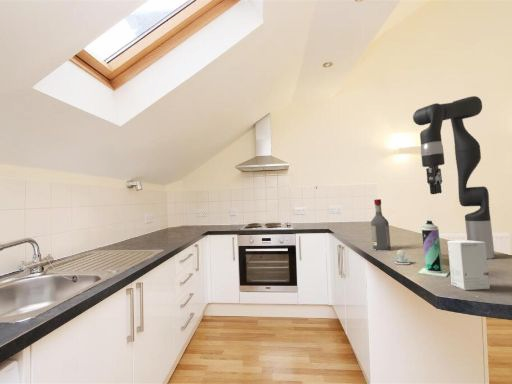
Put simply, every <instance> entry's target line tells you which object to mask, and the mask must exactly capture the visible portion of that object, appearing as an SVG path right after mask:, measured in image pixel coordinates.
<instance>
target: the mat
mask: <svg viewBox="0 0 512 384" xmlns="http://www.w3.org/2000/svg"><path fill="white" fill-rule="evenodd" d="M417 274H419V275H428V276H433V277H443V278H447V277H448V275H449V274H450V271H449V270H443V272H442V273H430V272H427V271H426V267H422V268H421V269H419V271H418V272H417Z"/></svg>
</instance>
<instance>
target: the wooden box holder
mask: <svg viewBox="0 0 512 384" xmlns="http://www.w3.org/2000/svg"><path fill="white" fill-rule="evenodd" d="M441 260H442V270H449V271H450V262H449V253H442V252H441Z"/></svg>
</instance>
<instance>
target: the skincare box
mask: <svg viewBox="0 0 512 384" xmlns="http://www.w3.org/2000/svg"><path fill="white" fill-rule="evenodd" d="M446 242H447V248H448V254H449V262H450V272H449V274H450V283H451V285H452V286H454V287H457V288H458V289H461V290H463V291H474V290H490V289H491V287H490V276H489V269H488V268H489V266H488V260H487V255H486V245H485V242H480V241H472V240H447V241H446Z"/></svg>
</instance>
